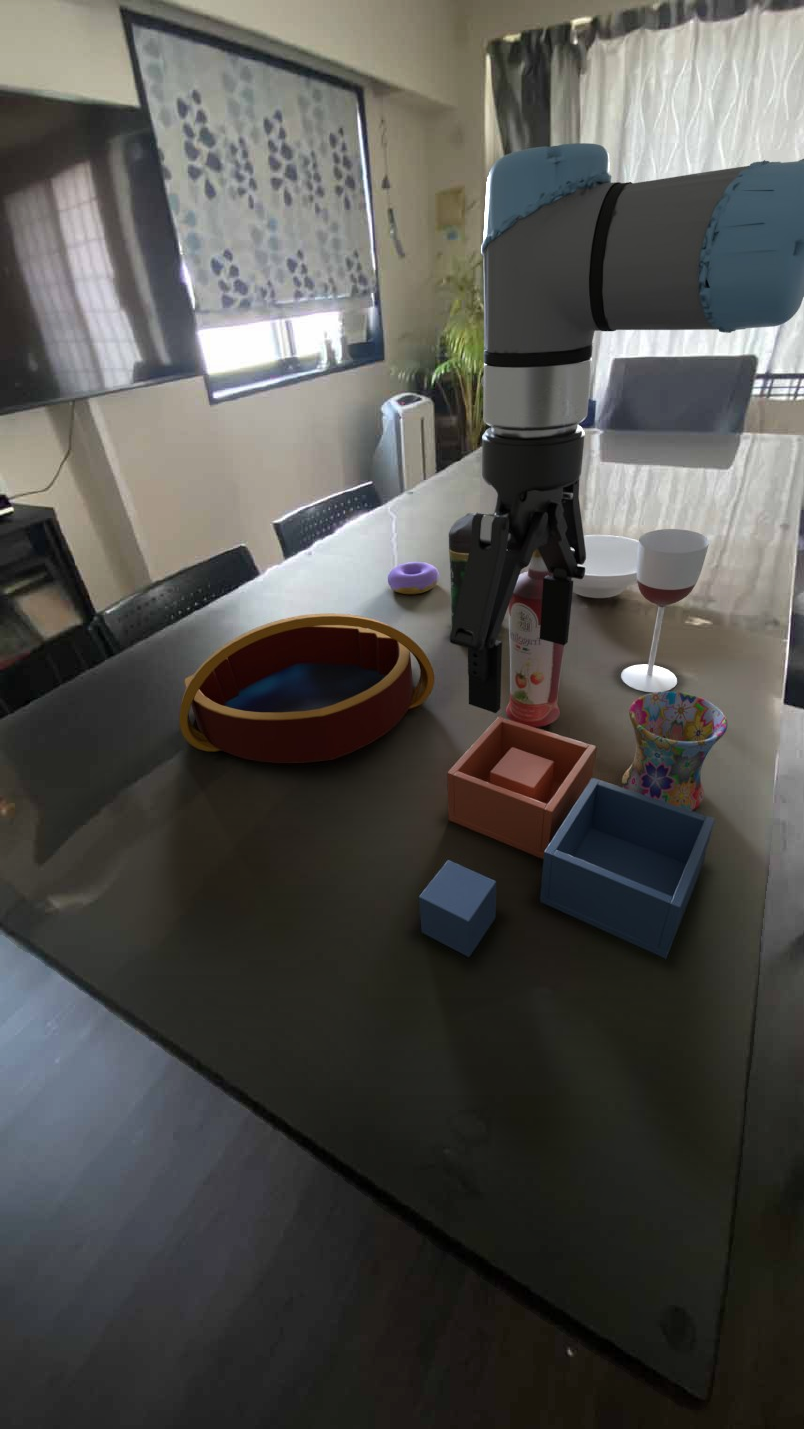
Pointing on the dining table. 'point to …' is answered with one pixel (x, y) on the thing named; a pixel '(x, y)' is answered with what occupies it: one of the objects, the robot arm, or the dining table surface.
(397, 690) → the decorative basket
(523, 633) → the liquor
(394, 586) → the donut
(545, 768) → the terracotta block
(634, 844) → the slate bin
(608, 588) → the bowl
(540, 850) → the terracotta bin
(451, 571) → the coffee jar
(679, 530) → the wineglass
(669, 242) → the robot arm
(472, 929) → the slate block
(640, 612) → the dining table surface
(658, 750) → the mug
